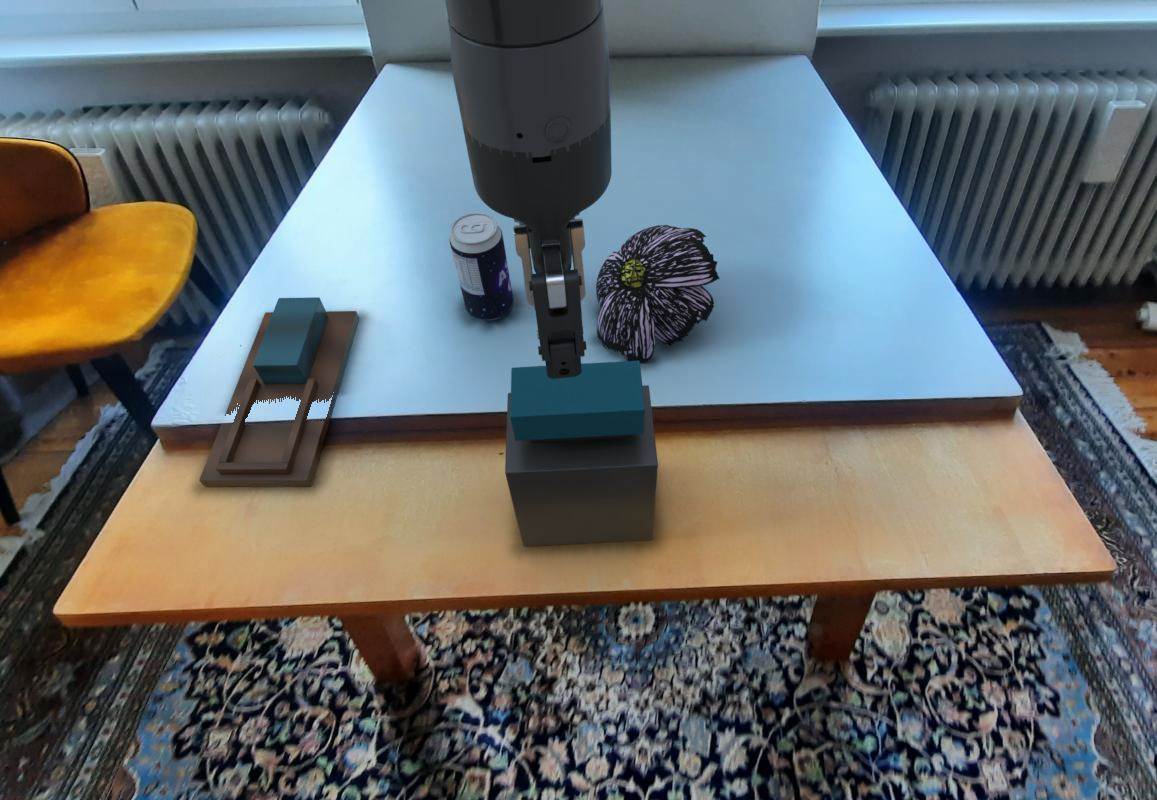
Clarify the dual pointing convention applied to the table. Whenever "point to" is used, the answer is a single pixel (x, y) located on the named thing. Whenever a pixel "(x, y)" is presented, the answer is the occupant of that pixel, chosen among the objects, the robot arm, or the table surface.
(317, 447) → the brown flat rectangular board
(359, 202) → the table surface
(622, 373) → the back pad
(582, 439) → the pad stand
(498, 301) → the beverage can
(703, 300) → the decorative flower
